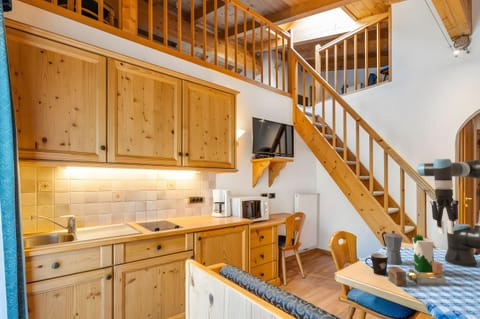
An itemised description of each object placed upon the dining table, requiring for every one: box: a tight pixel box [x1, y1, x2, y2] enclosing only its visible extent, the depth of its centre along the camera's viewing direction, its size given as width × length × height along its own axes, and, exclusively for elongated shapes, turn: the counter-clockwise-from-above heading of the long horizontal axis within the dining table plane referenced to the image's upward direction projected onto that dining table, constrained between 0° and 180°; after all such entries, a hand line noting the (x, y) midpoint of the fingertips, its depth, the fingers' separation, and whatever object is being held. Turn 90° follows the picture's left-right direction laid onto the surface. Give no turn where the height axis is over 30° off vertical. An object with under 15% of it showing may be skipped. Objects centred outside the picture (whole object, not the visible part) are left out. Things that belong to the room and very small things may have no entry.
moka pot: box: [381, 230, 404, 266], centre depth 171 cm, size 10×15×20 cm, turn 24°
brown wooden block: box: [387, 266, 408, 287], centre depth 141 cm, size 5×7×7 cm
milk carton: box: [412, 234, 435, 273], centre depth 155 cm, size 9×9×20 cm
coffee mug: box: [364, 252, 388, 276], centre depth 155 cm, size 12×9×10 cm
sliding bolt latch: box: [408, 268, 447, 286], centre depth 141 cm, size 14×7×6 cm, turn 90°
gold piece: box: [407, 261, 444, 281], centre depth 141 cm, size 16×4×9 cm, turn 90°
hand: (446, 233), depth 141 cm, fingers open, 4 cm apart
